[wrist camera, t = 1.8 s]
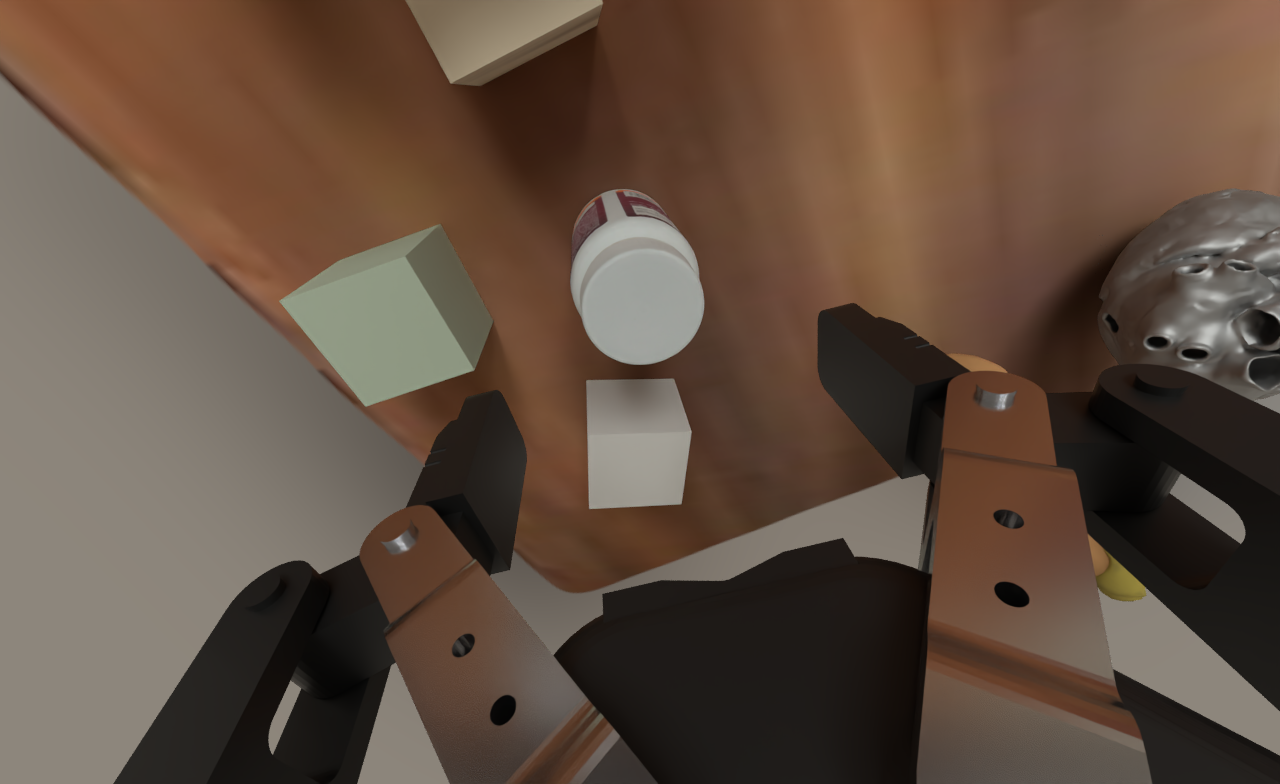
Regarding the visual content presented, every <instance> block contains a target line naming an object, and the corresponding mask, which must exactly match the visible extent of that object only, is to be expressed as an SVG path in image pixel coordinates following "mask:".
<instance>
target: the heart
mask: <svg viewBox="0 0 1280 784" xmlns="http://www.w3.org/2000/svg"><path fill="white" fill-rule="evenodd" d="M1099 236H1100V235H1099ZM1102 236H1103V235H1102ZM1100 260H1101V259H1100ZM1098 264H1099V263H1098ZM1102 270H1103V269H1102ZM1095 274H1096V273H1095ZM1099 298H1100V299H1101V300H1103V304H1102V307H1101V309H1100V311H1099V313H1098V327H1099V331H1100V334H1101V337H1102V339H1103V341H1104V342H1105V344H1106V346H1107V348H1108V350H1109V351H1110V353H1111V354H1112V356H1113V357H1114V358H1115V359H1116V360H1117V362H1118V363H1119V365H1124V364H1153V365H1161V366H1167V367H1172V368H1177V369H1181V370H1185V371H1188V372H1191V373H1194V374H1197V375H1199V376H1201V377H1204V378H1206V379H1208V380H1210V381H1212V382H1214V383H1216V384H1219V385H1221V386H1223V387H1225V388H1227V389H1229V390H1231V391H1233V392H1235V393H1237V394H1240V395H1242V396H1244V397H1246V398H1248V399H1250V400H1252V401H1254V400H1258V399H1264V398H1267V397H1270V396H1273V395H1276V394H1279V393H1280V197H1278V196H1274V195H1269V194H1265V193H1263V192H1259V191H1253V190H1252V191H1251V190H1250V191H1249V190H1239V189H1226V190H1222V191H1217V192H1213V193H1209V194H1203V195H1199V196H1196V197H1193V198H1191V199H1188V200H1186V201H1183V202H1181V203H1179V204H1178V205H1176V206H1174V207H1173V208H1172V209H1170V210H1168V211H1167V212H1166V213H1164V214H1163V215H1162V216H1161V217H1160V218H1158V219H1157V220H1155V221H1154V222H1153V223H1151V224H1150V225H1149V226H1147V227H1146V228H1145V229H1144V230H1142V231H1141V232H1140V233H1139V234H1138V235H1137V236H1136V237H1135V238H1134V239H1132V240H1131V241H1130V242H1129V243H1128V244H1127V246H1126V247H1125V249H1124V250H1123V251H1122V252H1121V253H1120V255H1119V256H1118V258H1117V259H1116V261H1115V263H1114V265H1113V267H1112V269H1111V270H1110V272H1109V274H1108V276H1107V278H1106V279H1105V281H1104V283H1103V285H1102V288H1101V291H1100V294H1099ZM1046 354H1047V353H1046Z"/></svg>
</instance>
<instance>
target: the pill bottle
mask: <svg viewBox="0 0 1280 784" xmlns="http://www.w3.org/2000/svg"><path fill="white" fill-rule="evenodd" d="M570 273H571V276H570V284H571V293H572V296H573V300H574V303H575V306H576V308H577V310H578V312H579V314H580V316H581V317H582V321H583V325H584V328H585V330H586V333H587V334H588V336H589V338H590V340H591V341H592V342H593V343H594V345H595V346H596V347H597V348H598V349H599V350H600V351H601V352H603V353H604V354H605V355H607V356H608V357H610V358H612V359H614V360H617V361H619V362H623V363H627V364H633V365H646V364H653V363H657V362H660V361H663V360H666V359H668V358H670V357H672V356H673V355H675V354H677V353H678V352H679V351H681V350H682V349H683V348H684V347H685V346H686V345H687V344H688V343H689V342H690V341H691V340H692V338H693V337H694V335H695V334H696V332H697V330H698V328H699V326H700V324H701V321H702V317H703V313H704V294H703V289H702V286H701V283H700V280H699V268H698V263H697V259H696V256H695V254H694V251H693V249H692V247H691V246H690V244H689V242H688V241H687V240H686V238H685V237H684V236H683V235H682V234H681V233H680V231H679V230H678V229H677V228H676V226H675V225H674V224H673V222H672V221H671V220H670V219H669V217H668V215H667V214H666V213H665V212H664V210H663V209H662V208H661V207H660V205H659V204H658V203H657V202H655V201H654V200H653V199H652V198H650V197H649V196H647V195H645V194H643V193H641V192H638V191H635V190H629V189H616V190H611V191H607V192H604V193H602V194H600V195H598V196H597V197H595V198H594V199H592V200H591V201H590V202H589V203H588V204H587V205H586V206H585V207H584V208H583V209H582V211H581V212H580V214H579V216H578V218H577V220H576V223H575V225H574V229H573V235H572V255H571V272H570Z"/></svg>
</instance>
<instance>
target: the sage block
mask: <svg viewBox="0 0 1280 784" xmlns="http://www.w3.org/2000/svg"><path fill="white" fill-rule="evenodd" d="M279 302H280V303H281V304H282V305H283V306H284V308H285V309H286V310H287V311H288V313H289V314H290V315H291V316H292V317H293V319H294V320H295V321H296V322H297V324H298V325H299V326H300V327H301V328H302V330H303V331H304V332H305V333H306V334H307V336H308V337H309V338H310V339H311V341H312V342H313V343H314V344H315V345H316V347H317V348H318V349H319V350H320V352H321V353H322V354H323V355H324V356H325V358H326V359H327V360H328V361H329V363H330V364H331V365H332V366H333V367H334V369H335V370H336V371H337V372H338V374H339V375H340V376H341V377H342V378H343V380H344V381H345V382H346V383H347V384H348V386H349V387H350V388H351V389H352V391H353V392H354V393H355V394H356V395H357V397H358V398H359V399H360V400H361V402H362V403H363V404H364V405H365V406H369V405H372V404H375V403H378V402H381V401H384V400H387V399H390V398H393V397H396V396H399V395H402V394H405V393H408V392H411V391H414V390H417V389H420V388H423V387H426V386H429V385H432V384H435V383H438V382H441V381H444V380H447V379H450V378H453V377H456V376H459V375H462V374H465V373H468V372H471V371H474V370H475V368H476V365H477V363H478V360H479V357H480V355H481V352H482V350H483V347H484V344H485V342H486V339H487V337H488V334H489V331H490V329H491V326H492V324H493V319H492V318H491V316H490V314H489V312H488V310H487V308H486V307H485V305H484V303H483V301H482V299H481V297H480V296H479V294H478V292H477V290H476V288H475V286H474V284H473V283H472V281H471V279H470V277H469V275H468V273H467V272H466V270H465V268H464V266H463V264H462V262H461V261H460V259H459V257H458V255H457V253H456V251H455V249H454V248H453V246H452V244H451V242H450V240H449V238H448V237H447V235H446V233H445V231H444V229H443V227H442V226H441V224H438V225H436V226H433V227H430V228H427V229H425V230H422V231H419V232H416V233H413V234H411V235H408V236H405V237H402V238H400V239H397V240H394V241H391V242H389V243H386V244H383V245H380V246H377V247H375V248H372V249H369V250H366V251H364V252H361V253H358V254H355V255H352V256H350V257H347V258H344V259H341V260H339V261H337V262H336V263H335V264H333V265H332V266H330V267H329V268H327V269H326V270H324V271H323V272H321V273H320V274H318V275H317V276H315V277H314V278H313V279H311V280H310V281H308V282H307V283H305V284H304V285H302V286H301V287H299V288H298V289H296V290H295V291H294V292H292V293H291V294H289V295H288V296H286V297H285V298H283V299H282V300H280V301H279Z"/></svg>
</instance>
